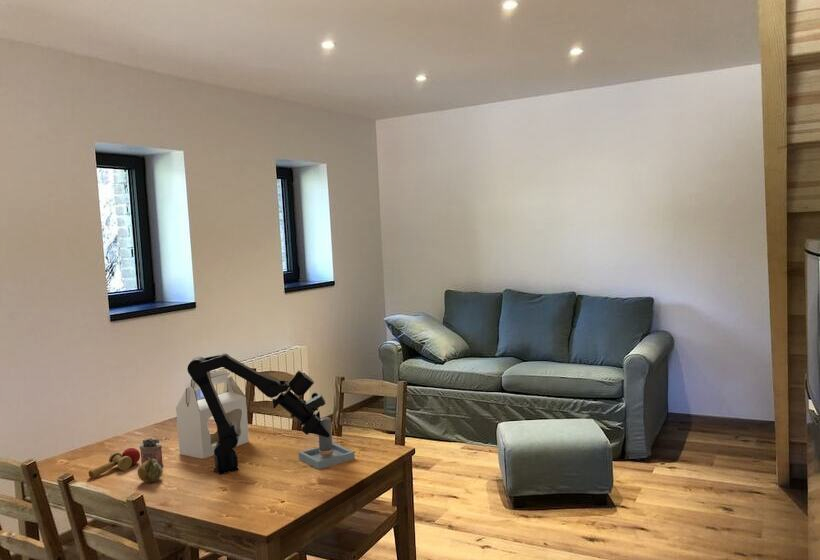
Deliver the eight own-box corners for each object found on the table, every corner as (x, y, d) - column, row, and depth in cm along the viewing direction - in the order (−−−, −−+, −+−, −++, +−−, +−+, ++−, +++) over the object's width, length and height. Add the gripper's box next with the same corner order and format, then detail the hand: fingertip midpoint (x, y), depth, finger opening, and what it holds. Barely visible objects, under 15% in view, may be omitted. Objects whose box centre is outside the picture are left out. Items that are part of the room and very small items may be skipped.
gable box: (202, 459, 238) (196, 381, 236) (178, 454, 245) (172, 378, 243) (249, 441, 256) (244, 369, 254) (226, 437, 263) (220, 366, 261)
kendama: (100, 484, 222) (147, 460, 237) (94, 466, 221) (141, 443, 236) (88, 484, 226) (134, 461, 241) (82, 467, 226) (129, 444, 241)
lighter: (139, 468, 232) (136, 440, 231) (145, 465, 235) (142, 437, 234) (159, 469, 230) (157, 440, 229) (165, 465, 233) (163, 437, 232)
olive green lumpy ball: (167, 476, 223) (166, 452, 222) (158, 485, 215) (156, 460, 214) (145, 476, 223) (143, 453, 222) (134, 486, 215) (132, 461, 214)
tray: (318, 469, 221) (317, 461, 220) (298, 459, 232) (298, 452, 232) (354, 459, 229) (354, 451, 229) (334, 449, 240) (333, 442, 240)
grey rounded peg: (329, 456, 227) (327, 421, 227) (317, 455, 229) (314, 420, 228) (335, 451, 232) (333, 417, 231) (323, 451, 233) (320, 417, 232)
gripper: (310, 393, 219) (346, 423, 221) (309, 381, 237) (343, 409, 240) (287, 419, 218) (323, 449, 221) (288, 405, 237) (322, 433, 239)
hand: (329, 434), depth 230 cm, fingers closed on grey rounded peg, 4 cm apart
